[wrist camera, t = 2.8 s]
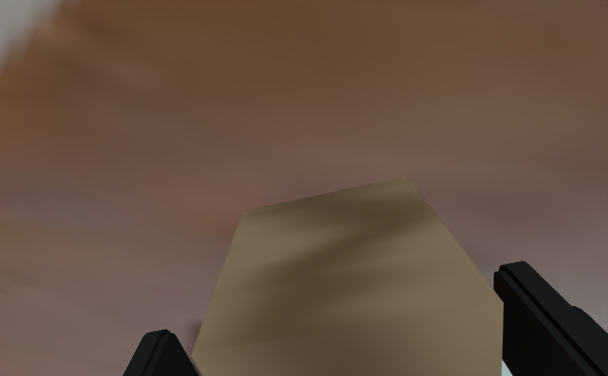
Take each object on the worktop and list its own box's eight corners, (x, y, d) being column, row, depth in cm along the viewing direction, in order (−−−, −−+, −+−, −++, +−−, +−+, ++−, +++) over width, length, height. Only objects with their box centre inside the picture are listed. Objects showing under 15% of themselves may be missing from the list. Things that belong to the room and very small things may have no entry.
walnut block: (407, 175, 11) (503, 303, 6) (421, 302, 14) (498, 476, 8) (243, 210, 12) (190, 355, 6) (284, 325, 14) (272, 502, 9)
